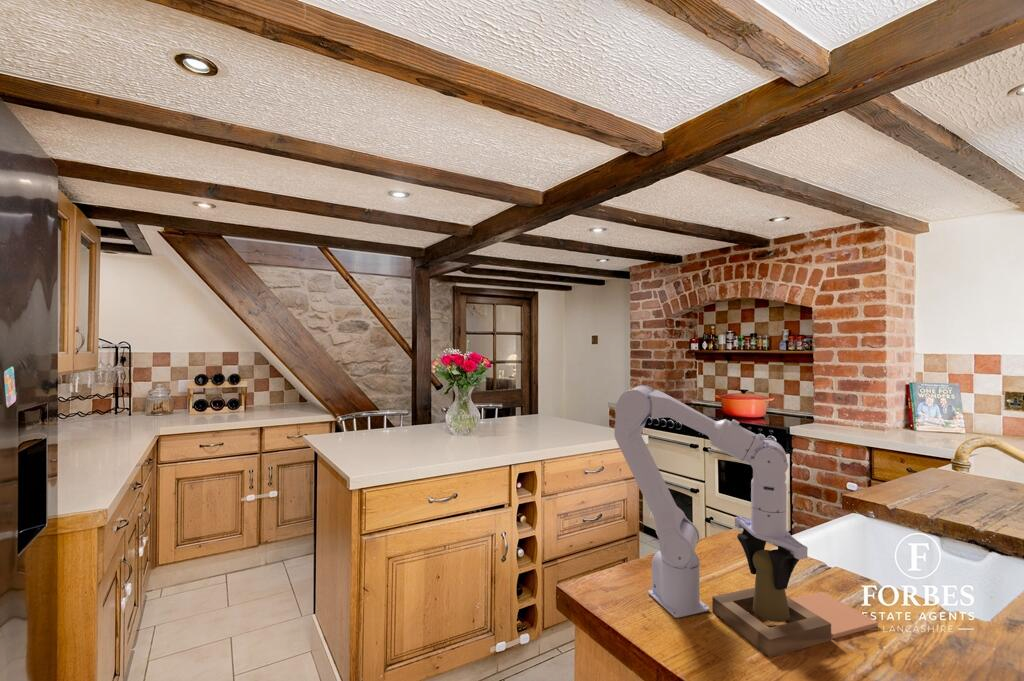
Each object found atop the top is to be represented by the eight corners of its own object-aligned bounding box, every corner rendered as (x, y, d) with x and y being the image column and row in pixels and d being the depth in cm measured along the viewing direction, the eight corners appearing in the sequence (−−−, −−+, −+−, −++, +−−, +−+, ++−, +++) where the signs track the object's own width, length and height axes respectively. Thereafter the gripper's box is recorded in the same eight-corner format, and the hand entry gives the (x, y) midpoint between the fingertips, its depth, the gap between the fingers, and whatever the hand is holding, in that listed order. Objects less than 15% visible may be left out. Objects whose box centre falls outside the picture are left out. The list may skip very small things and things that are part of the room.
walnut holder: (712, 611, 92) (712, 596, 92) (768, 599, 96) (768, 584, 96) (769, 657, 79) (769, 639, 79) (831, 640, 83) (831, 623, 83)
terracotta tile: (780, 605, 94) (780, 601, 94) (822, 595, 97) (822, 591, 97) (832, 638, 84) (832, 634, 84) (877, 626, 87) (877, 622, 87)
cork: (782, 604, 90) (779, 546, 90) (795, 622, 84) (792, 560, 84) (748, 603, 91) (745, 545, 91) (759, 621, 85) (756, 559, 85)
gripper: (821, 519, 82) (820, 597, 82) (754, 492, 95) (754, 559, 96) (789, 524, 79) (789, 604, 80) (726, 496, 93) (726, 564, 94)
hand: (768, 580), depth 88 cm, fingers closed on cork, 5 cm apart
